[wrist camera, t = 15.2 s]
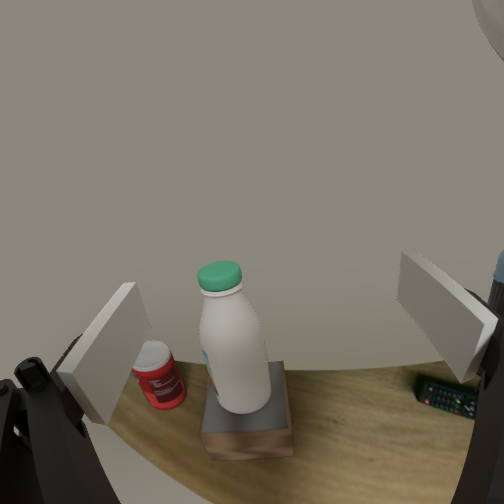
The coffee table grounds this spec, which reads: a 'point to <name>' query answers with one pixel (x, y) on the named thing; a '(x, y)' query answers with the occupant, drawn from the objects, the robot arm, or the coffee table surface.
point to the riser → (249, 425)
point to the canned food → (159, 376)
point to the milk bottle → (232, 340)
